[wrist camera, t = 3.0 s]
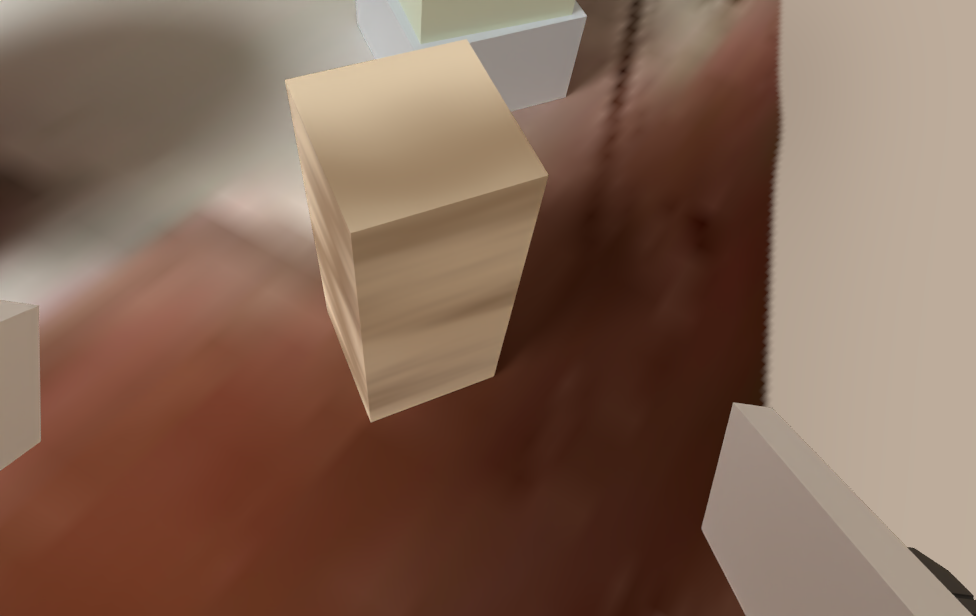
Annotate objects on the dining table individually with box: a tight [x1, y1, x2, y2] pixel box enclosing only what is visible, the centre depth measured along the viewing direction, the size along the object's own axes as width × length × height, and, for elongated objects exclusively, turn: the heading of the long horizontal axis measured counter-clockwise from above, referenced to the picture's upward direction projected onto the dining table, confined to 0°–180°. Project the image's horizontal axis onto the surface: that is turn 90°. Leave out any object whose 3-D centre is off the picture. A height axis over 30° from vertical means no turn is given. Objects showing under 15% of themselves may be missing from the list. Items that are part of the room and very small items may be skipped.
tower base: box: [356, 0, 587, 112], centre depth 34 cm, size 8×8×5 cm
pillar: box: [285, 39, 549, 422], centre depth 23 cm, size 5×5×12 cm
